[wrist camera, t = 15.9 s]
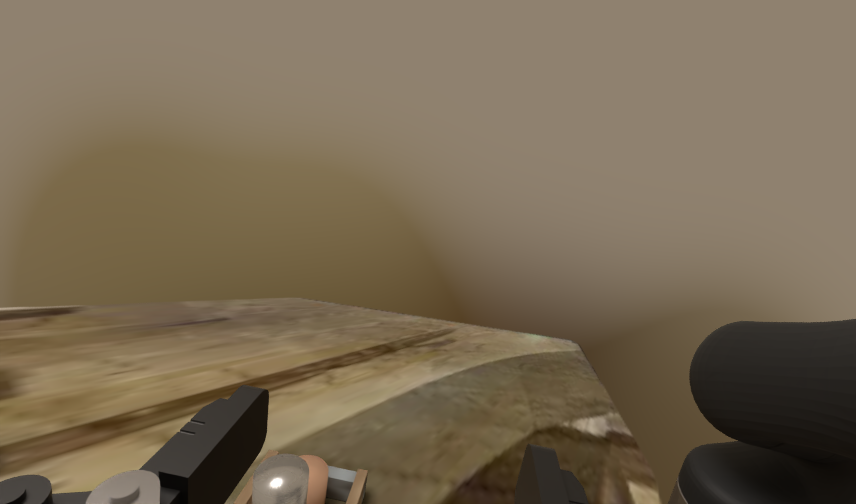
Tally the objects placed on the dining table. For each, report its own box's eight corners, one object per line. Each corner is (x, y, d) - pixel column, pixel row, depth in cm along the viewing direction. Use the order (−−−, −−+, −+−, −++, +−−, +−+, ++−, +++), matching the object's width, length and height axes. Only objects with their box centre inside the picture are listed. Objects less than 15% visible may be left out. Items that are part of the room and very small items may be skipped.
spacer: (330, 501, 49) (334, 460, 47) (314, 540, 44) (318, 495, 43) (289, 492, 49) (292, 451, 48) (269, 530, 45) (272, 485, 43)
